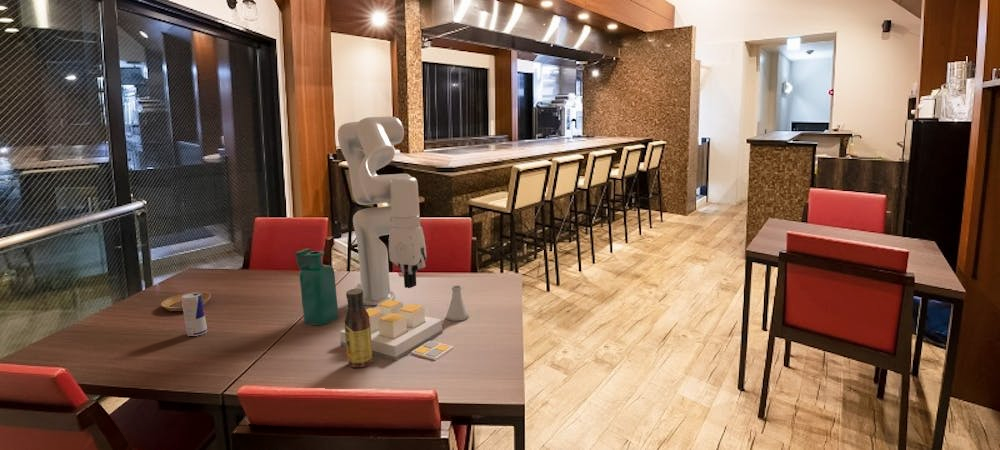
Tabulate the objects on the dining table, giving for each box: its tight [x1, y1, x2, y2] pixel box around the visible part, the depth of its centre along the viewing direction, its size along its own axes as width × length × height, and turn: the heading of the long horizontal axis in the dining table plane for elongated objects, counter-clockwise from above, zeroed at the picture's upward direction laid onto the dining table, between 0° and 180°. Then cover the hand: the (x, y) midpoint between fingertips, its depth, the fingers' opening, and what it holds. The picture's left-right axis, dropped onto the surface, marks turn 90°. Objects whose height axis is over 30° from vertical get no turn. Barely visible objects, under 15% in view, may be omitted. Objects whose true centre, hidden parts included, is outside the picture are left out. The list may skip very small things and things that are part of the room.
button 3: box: [378, 313, 407, 340], centre depth 150 cm, size 5×5×5 cm
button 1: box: [365, 307, 384, 334], centre depth 154 cm, size 5×5×5 cm
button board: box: [339, 315, 443, 361], centre depth 156 cm, size 20×20×4 cm
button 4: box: [398, 303, 426, 329], centre depth 156 cm, size 5×5×5 cm
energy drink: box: [181, 291, 208, 337], centre depth 161 cm, size 5×5×12 cm
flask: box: [446, 284, 470, 322], centre depth 170 cm, size 7×7×10 cm
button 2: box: [376, 299, 404, 316], centre depth 160 cm, size 5×5×5 cm
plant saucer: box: [160, 291, 212, 312], centre depth 186 cm, size 15×15×3 cm
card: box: [410, 340, 454, 361], centre depth 148 cm, size 8×8×1 cm
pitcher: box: [294, 248, 339, 326], centre depth 169 cm, size 10×8×22 cm
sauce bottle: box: [343, 288, 373, 368], centre depth 139 cm, size 6×6×20 cm
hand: (410, 286), depth 154 cm, fingers closed
